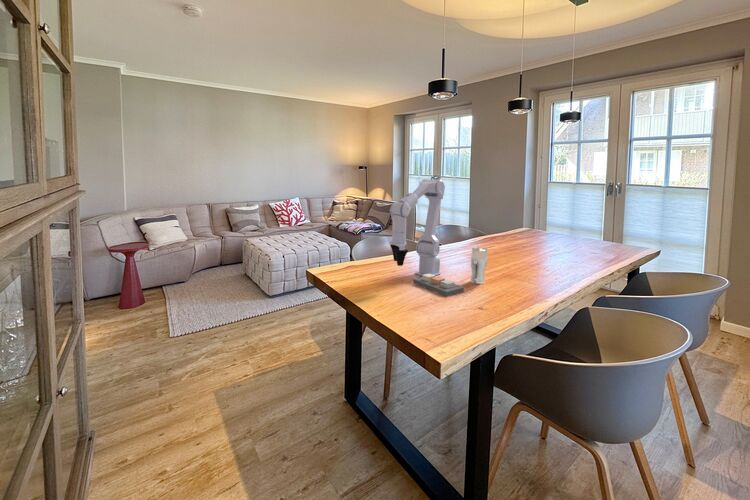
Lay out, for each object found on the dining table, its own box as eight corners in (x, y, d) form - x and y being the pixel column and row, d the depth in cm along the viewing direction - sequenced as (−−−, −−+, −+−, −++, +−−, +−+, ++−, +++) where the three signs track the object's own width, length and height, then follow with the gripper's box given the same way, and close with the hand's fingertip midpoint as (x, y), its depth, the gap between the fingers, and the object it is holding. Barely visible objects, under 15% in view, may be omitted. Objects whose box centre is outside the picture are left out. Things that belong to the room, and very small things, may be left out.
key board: (429, 279, 168) (430, 275, 168) (463, 291, 152) (464, 287, 152) (413, 283, 162) (413, 278, 162) (446, 296, 146) (446, 291, 146)
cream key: (428, 278, 164) (429, 273, 163) (435, 281, 161) (435, 275, 160) (422, 280, 162) (422, 274, 161) (428, 282, 159) (428, 277, 158)
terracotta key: (437, 282, 160) (438, 276, 159) (444, 284, 156) (444, 278, 156) (431, 283, 157) (431, 277, 157) (437, 286, 154) (438, 280, 154)
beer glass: (486, 281, 167) (489, 248, 164) (483, 285, 161) (486, 251, 158) (470, 278, 170) (473, 246, 167) (467, 283, 164) (470, 249, 161)
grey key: (447, 285, 155) (447, 279, 155) (454, 288, 152) (454, 282, 152) (440, 287, 153) (440, 281, 152) (447, 289, 150) (447, 283, 149)
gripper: (386, 228, 161) (386, 259, 164) (392, 234, 147) (391, 268, 150) (402, 228, 162) (402, 258, 165) (410, 234, 148) (409, 267, 151)
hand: (398, 263), depth 157 cm, fingers open, 7 cm apart
